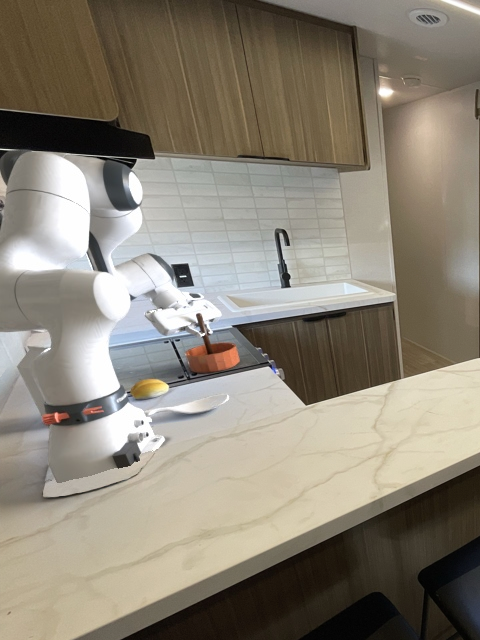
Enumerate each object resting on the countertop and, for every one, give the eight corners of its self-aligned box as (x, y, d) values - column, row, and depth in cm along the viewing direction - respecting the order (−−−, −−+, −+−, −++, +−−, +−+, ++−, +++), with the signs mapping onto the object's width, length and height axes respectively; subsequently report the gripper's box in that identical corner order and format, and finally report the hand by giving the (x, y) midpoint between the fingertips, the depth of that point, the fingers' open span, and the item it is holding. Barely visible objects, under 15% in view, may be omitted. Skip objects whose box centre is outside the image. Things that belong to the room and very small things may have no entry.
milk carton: (66, 425, 99) (31, 352, 92) (44, 422, 100) (8, 350, 93) (98, 411, 106) (67, 343, 98) (77, 409, 107) (45, 341, 100)
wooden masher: (222, 362, 135) (207, 313, 129) (202, 365, 133) (186, 315, 126) (223, 358, 140) (209, 310, 133) (203, 360, 137) (188, 312, 131)
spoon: (69, 436, 94) (62, 423, 93) (228, 397, 113) (224, 386, 111) (63, 453, 88) (56, 439, 86) (233, 409, 106) (229, 397, 105)
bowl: (240, 368, 134) (235, 351, 132) (188, 377, 127) (182, 359, 125) (240, 356, 145) (236, 340, 143) (192, 363, 138) (187, 346, 136)
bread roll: (137, 403, 110) (132, 390, 108) (129, 394, 115) (124, 381, 114) (174, 393, 116) (169, 380, 114) (165, 385, 121) (160, 373, 120)
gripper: (143, 305, 120) (179, 338, 122) (205, 292, 139) (235, 321, 140) (137, 319, 123) (172, 351, 125) (198, 304, 141) (228, 333, 143)
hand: (206, 335), depth 133 cm, fingers closed on wooden masher
